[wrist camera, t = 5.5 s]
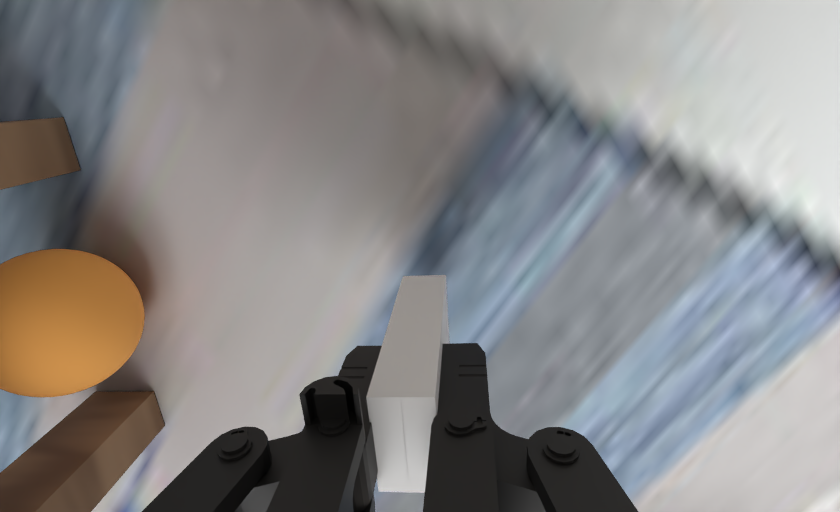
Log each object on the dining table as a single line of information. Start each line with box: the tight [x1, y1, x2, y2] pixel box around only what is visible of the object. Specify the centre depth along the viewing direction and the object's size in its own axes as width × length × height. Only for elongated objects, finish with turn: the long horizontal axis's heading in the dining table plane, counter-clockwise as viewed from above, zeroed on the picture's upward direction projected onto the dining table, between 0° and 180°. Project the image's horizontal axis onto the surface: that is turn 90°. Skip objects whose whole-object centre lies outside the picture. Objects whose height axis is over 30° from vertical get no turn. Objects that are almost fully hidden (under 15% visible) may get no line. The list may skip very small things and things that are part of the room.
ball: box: [0, 249, 145, 397], centre depth 17 cm, size 6×6×6 cm
